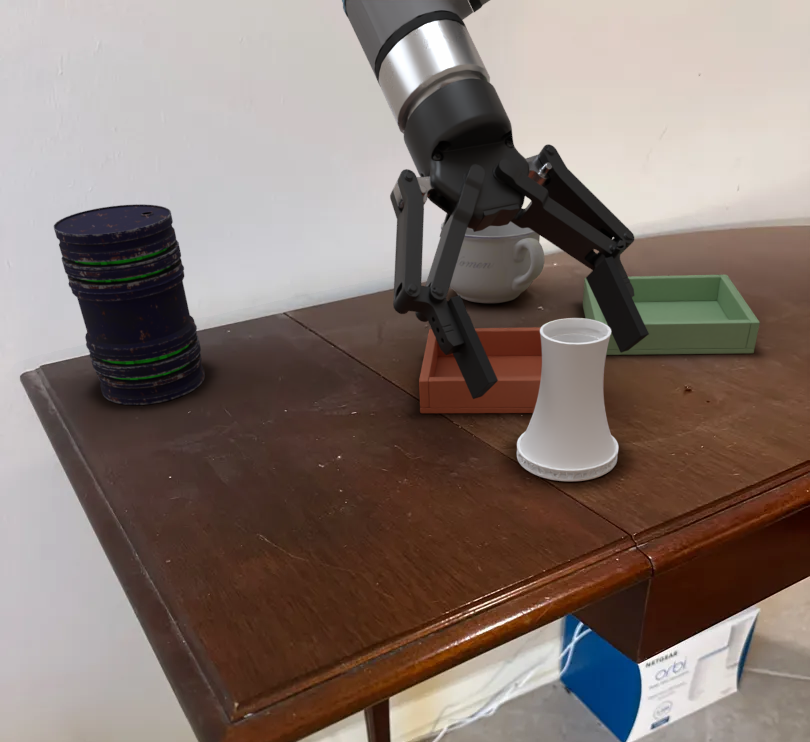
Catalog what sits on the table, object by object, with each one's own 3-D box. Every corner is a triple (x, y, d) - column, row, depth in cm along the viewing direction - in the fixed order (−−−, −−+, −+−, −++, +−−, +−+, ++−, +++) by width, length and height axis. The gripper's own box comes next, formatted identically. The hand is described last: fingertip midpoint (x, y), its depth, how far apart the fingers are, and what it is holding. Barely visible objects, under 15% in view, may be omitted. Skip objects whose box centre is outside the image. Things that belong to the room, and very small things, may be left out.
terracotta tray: (552, 357, 77) (553, 326, 75) (558, 413, 68) (560, 379, 66) (430, 358, 78) (429, 328, 77) (420, 413, 69) (418, 380, 67)
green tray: (722, 302, 86) (727, 274, 85) (753, 353, 75) (760, 322, 74) (582, 305, 88) (584, 277, 86) (593, 355, 77) (596, 324, 75)
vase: (596, 427, 65) (607, 306, 60) (632, 474, 59) (649, 344, 53) (505, 439, 65) (508, 317, 59) (532, 488, 59) (538, 357, 53)
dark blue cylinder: (111, 415, 72) (60, 242, 63) (91, 376, 79) (44, 216, 70) (219, 388, 75) (186, 220, 67) (191, 353, 83) (157, 198, 74)
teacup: (428, 289, 95) (426, 217, 90) (512, 274, 98) (514, 204, 93) (477, 328, 84) (477, 249, 79) (570, 310, 87) (575, 233, 82)
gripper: (554, 124, 69) (660, 348, 67) (283, 169, 59) (396, 432, 57) (603, 54, 62) (722, 302, 60) (304, 93, 52) (434, 389, 50)
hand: (563, 366), depth 58 cm, fingers open, 13 cm apart
